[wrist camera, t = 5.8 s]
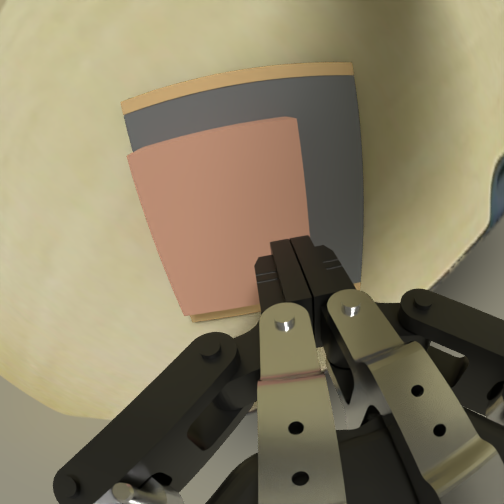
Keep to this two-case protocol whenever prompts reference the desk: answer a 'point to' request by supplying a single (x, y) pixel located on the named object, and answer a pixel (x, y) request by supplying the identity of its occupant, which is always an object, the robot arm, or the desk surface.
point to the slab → (221, 207)
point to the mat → (310, 134)
